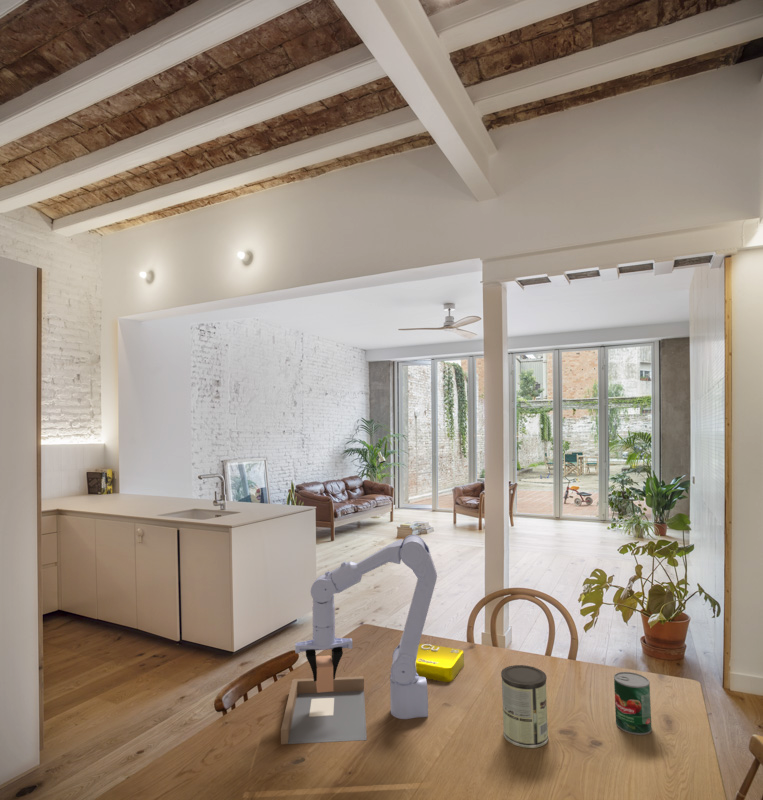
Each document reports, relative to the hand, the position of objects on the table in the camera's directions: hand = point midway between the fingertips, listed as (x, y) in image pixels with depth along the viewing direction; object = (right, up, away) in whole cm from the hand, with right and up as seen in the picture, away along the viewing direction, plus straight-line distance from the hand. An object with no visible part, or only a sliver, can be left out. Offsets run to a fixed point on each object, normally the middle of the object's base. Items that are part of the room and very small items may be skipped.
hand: (324, 678), depth 140 cm
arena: (+1, -8, -2) cm, 9 cm away
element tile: (+31, -10, +25) cm, 41 cm away
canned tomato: (+75, -7, -9) cm, 76 cm away
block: (0, -2, 0) cm, 2 cm away
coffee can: (+48, -7, -12) cm, 50 cm away
